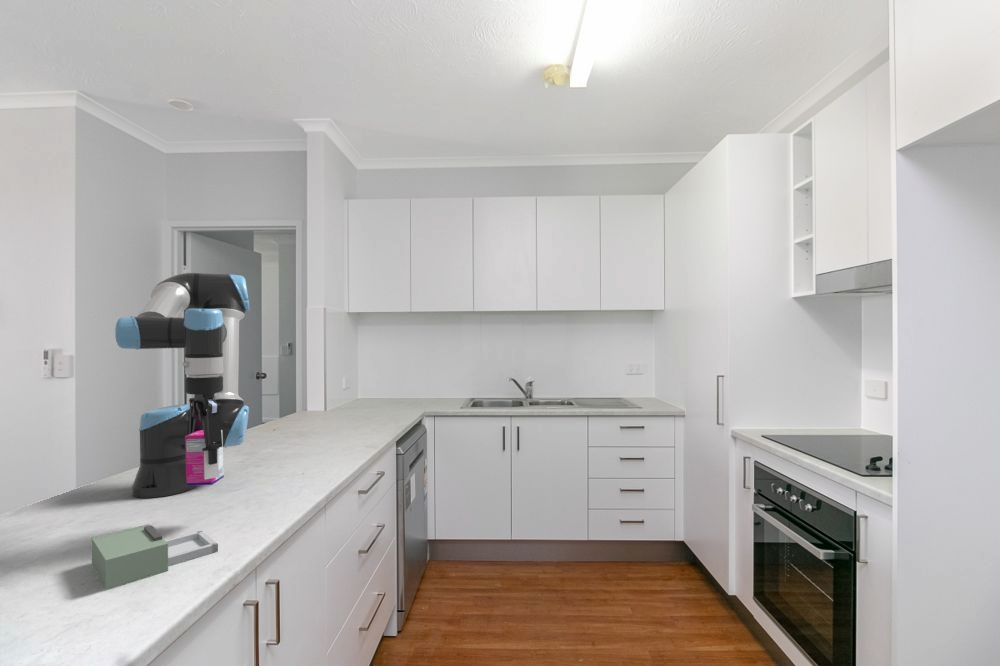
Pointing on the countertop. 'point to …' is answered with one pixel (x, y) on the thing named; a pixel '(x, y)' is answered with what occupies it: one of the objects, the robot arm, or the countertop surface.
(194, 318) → the robot arm
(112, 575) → the sliding drawer box
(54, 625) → the countertop surface
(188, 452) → the supplement box
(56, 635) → the countertop surface
